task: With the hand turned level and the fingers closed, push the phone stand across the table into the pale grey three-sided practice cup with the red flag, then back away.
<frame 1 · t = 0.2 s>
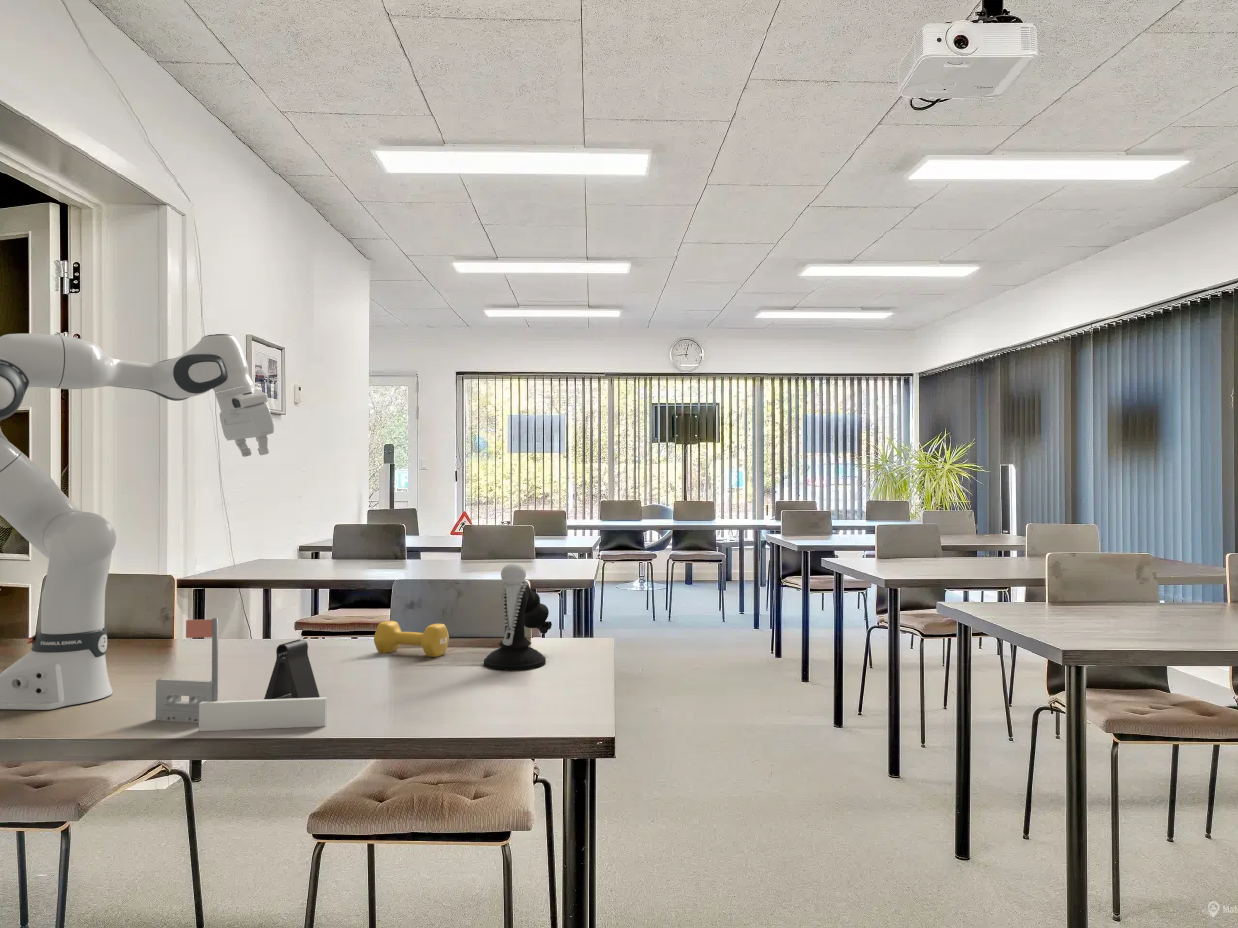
hand: (255, 455, 197), 52 cm above the table, tool tilted 20°, fingers open, 8 cm apart
sculpture: (523, 660, 204), on the table
practice cup: (274, 717, 154), on the table
phone stand: (291, 701, 167), on the table
cassette: (184, 721, 153), on the table
dumbbell: (411, 654, 212), on the table
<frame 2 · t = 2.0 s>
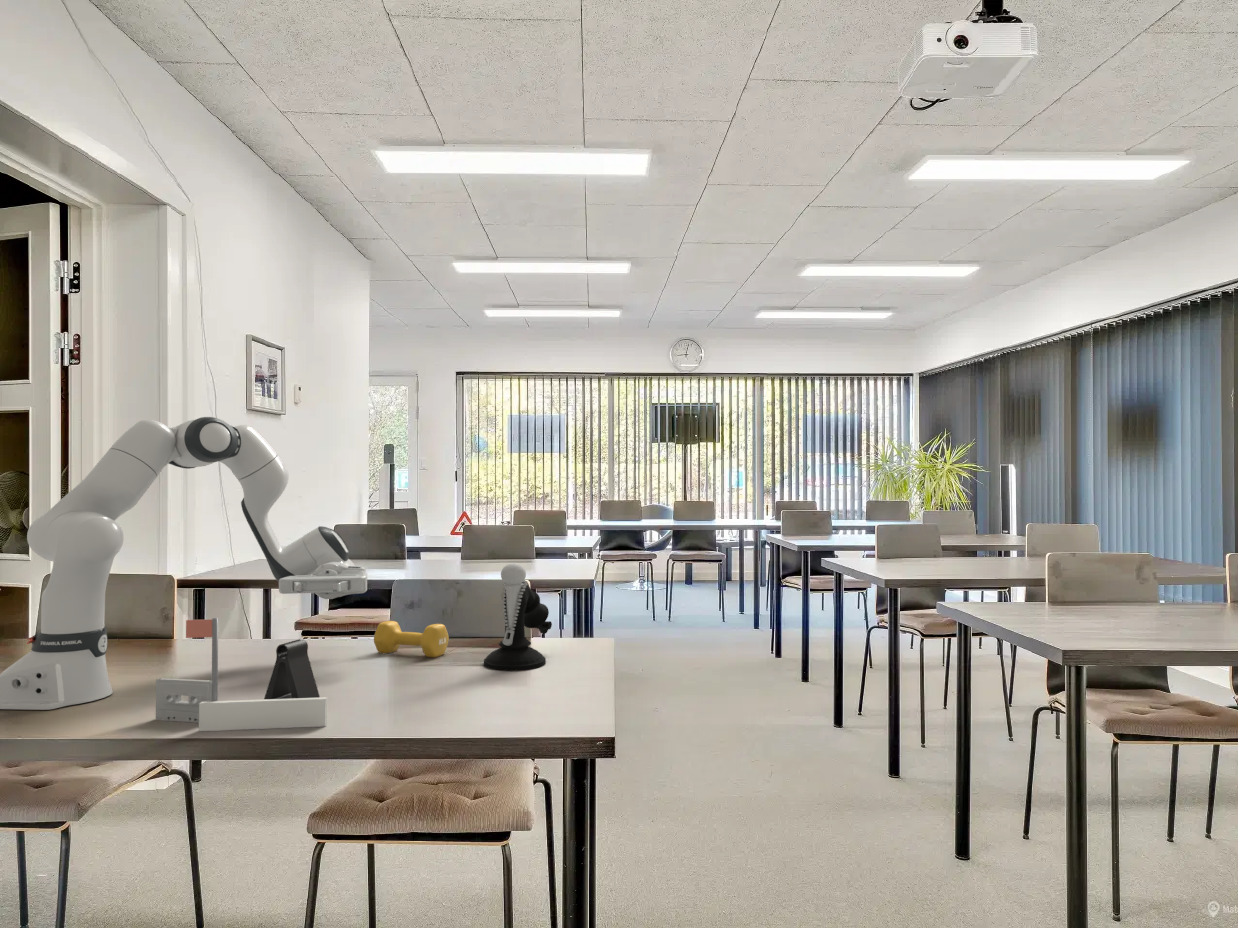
hand: (317, 588, 188), 20 cm above the table, tool horizontal, fingers open, 7 cm apart
nothing on the table moved.
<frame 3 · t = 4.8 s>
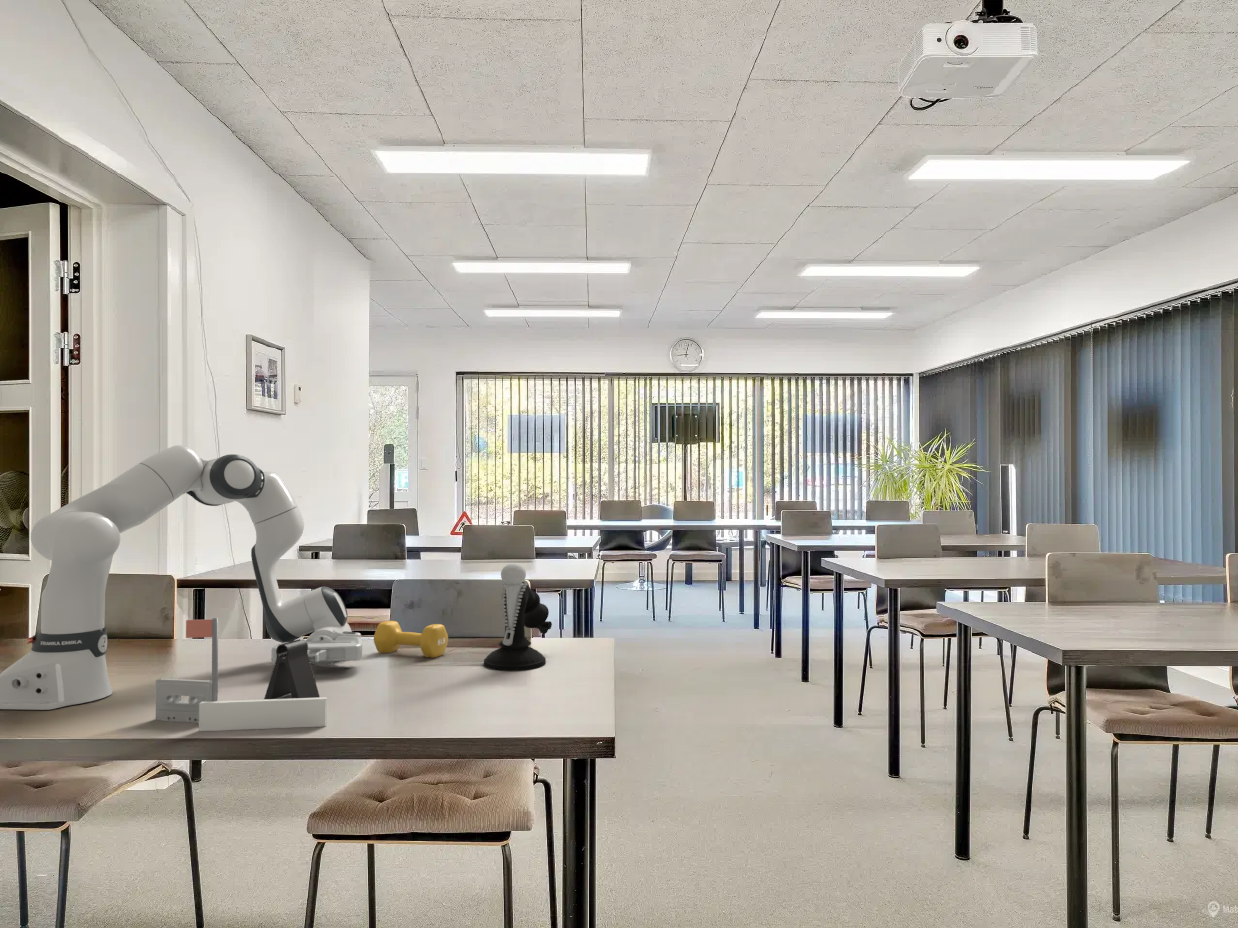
hand: (310, 658, 183), 5 cm above the table, tool horizontal, fingers closed
nothing on the table moved.
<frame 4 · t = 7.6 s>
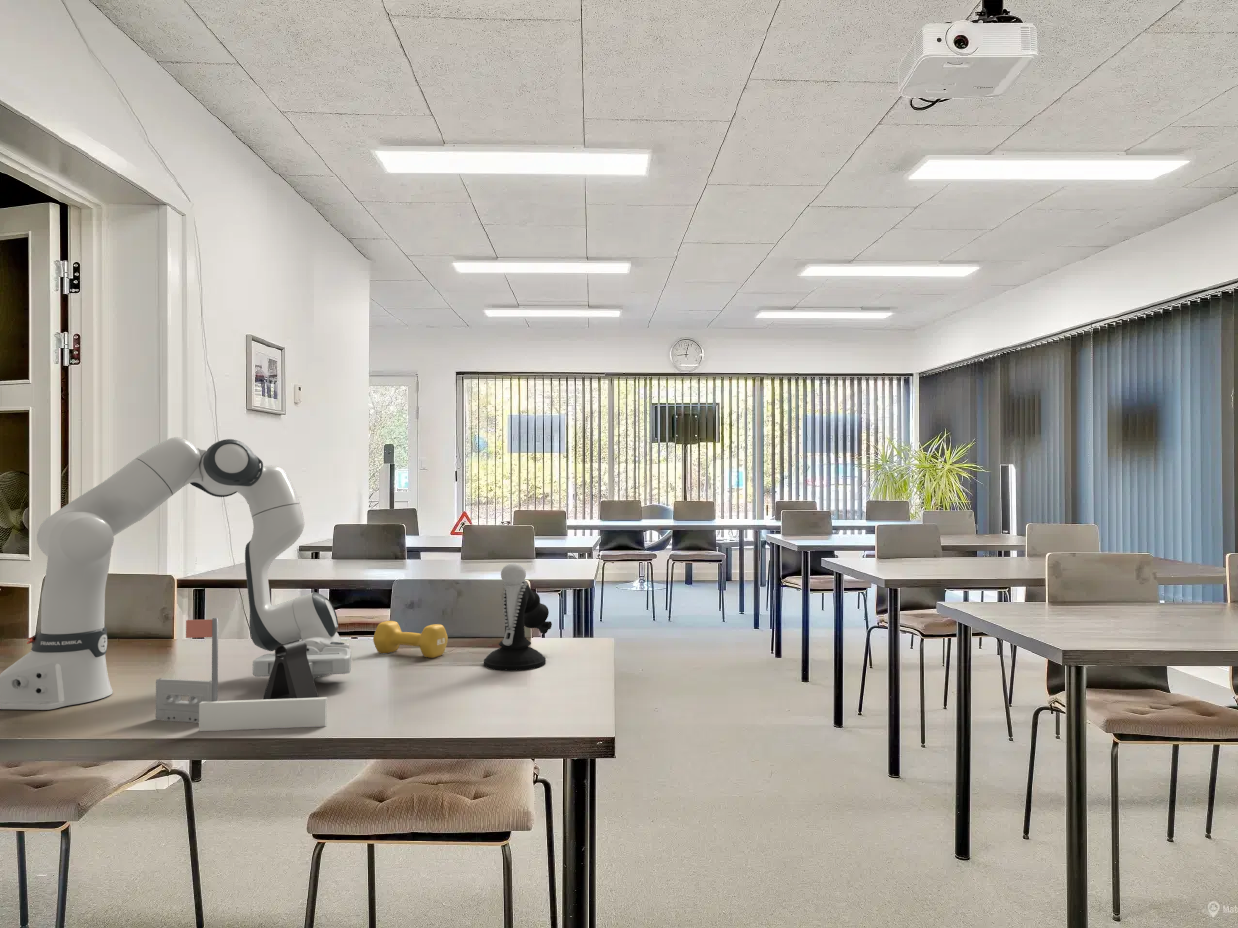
hand: (294, 672, 169), 5 cm above the table, tool horizontal, fingers closed
phone stand: (290, 702, 166), on the table, touching gripper
everything else where it was.
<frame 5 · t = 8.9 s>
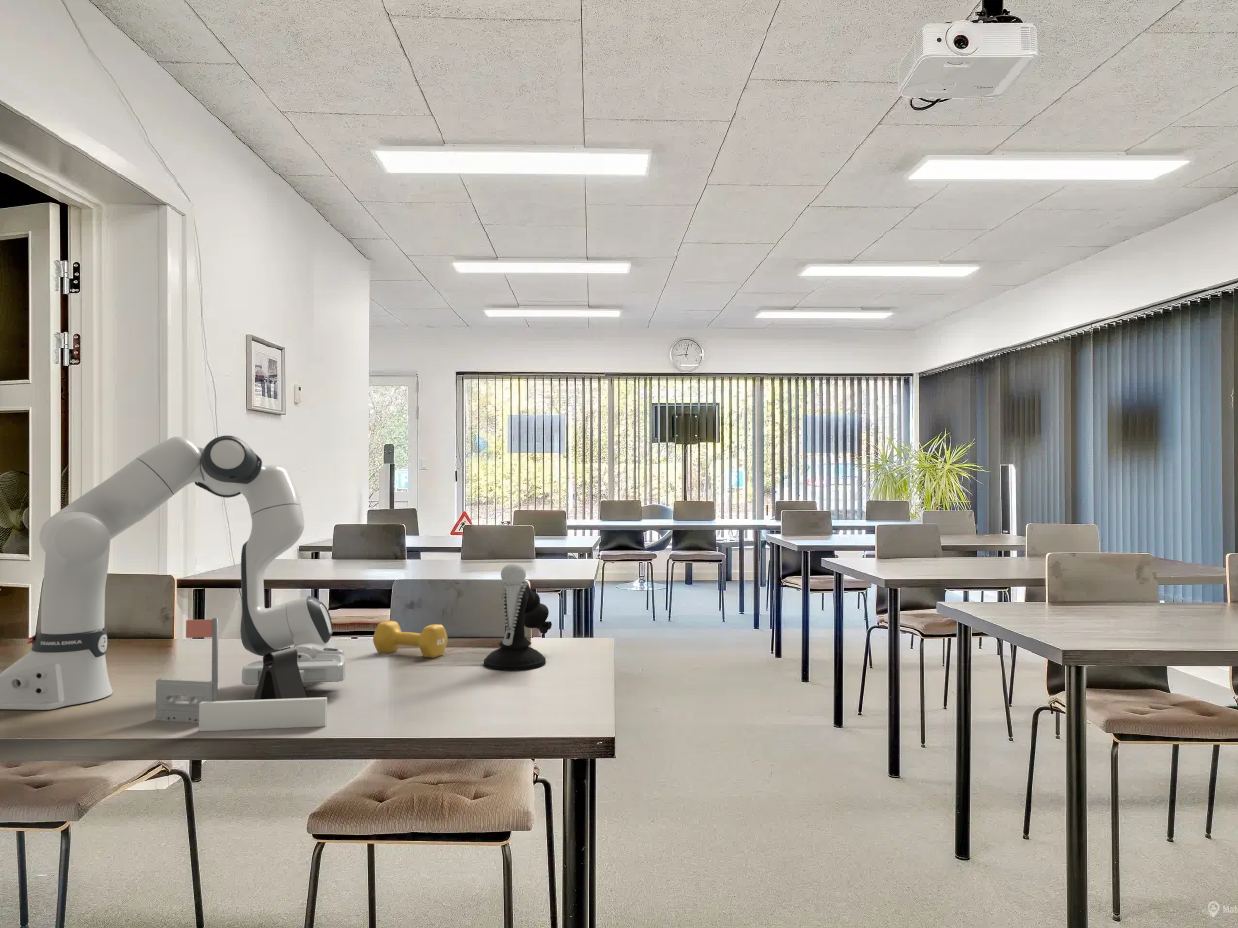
hand: (285, 680, 162), 5 cm above the table, tool horizontal, fingers closed
phone stand: (280, 711, 159), on the table, touching gripper, practice cup
everything else where it was.
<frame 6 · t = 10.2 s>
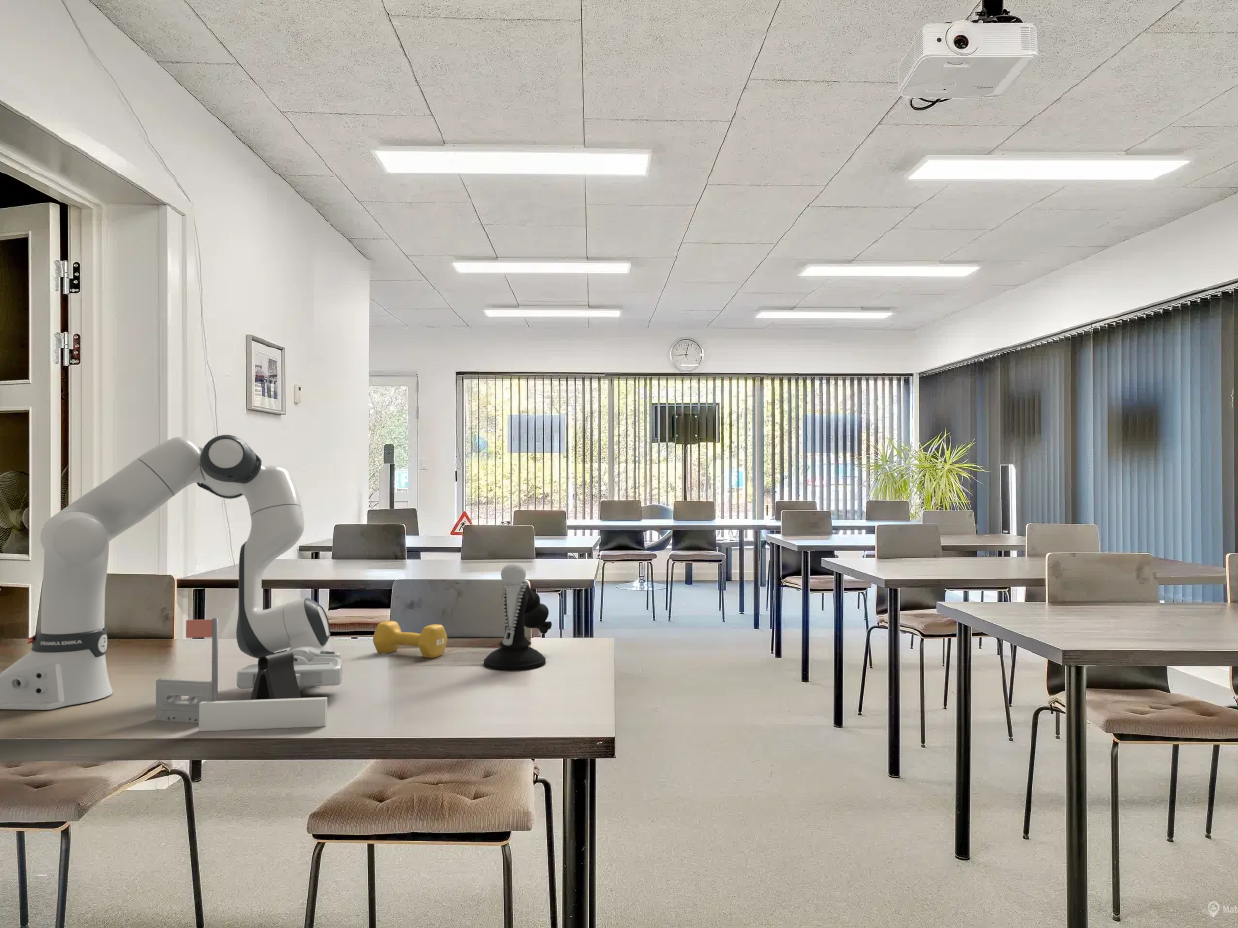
hand: (281, 684, 159), 5 cm above the table, tool horizontal, fingers closed
phone stand: (275, 716, 156), on the table, touching gripper, practice cup
everything else where it was.
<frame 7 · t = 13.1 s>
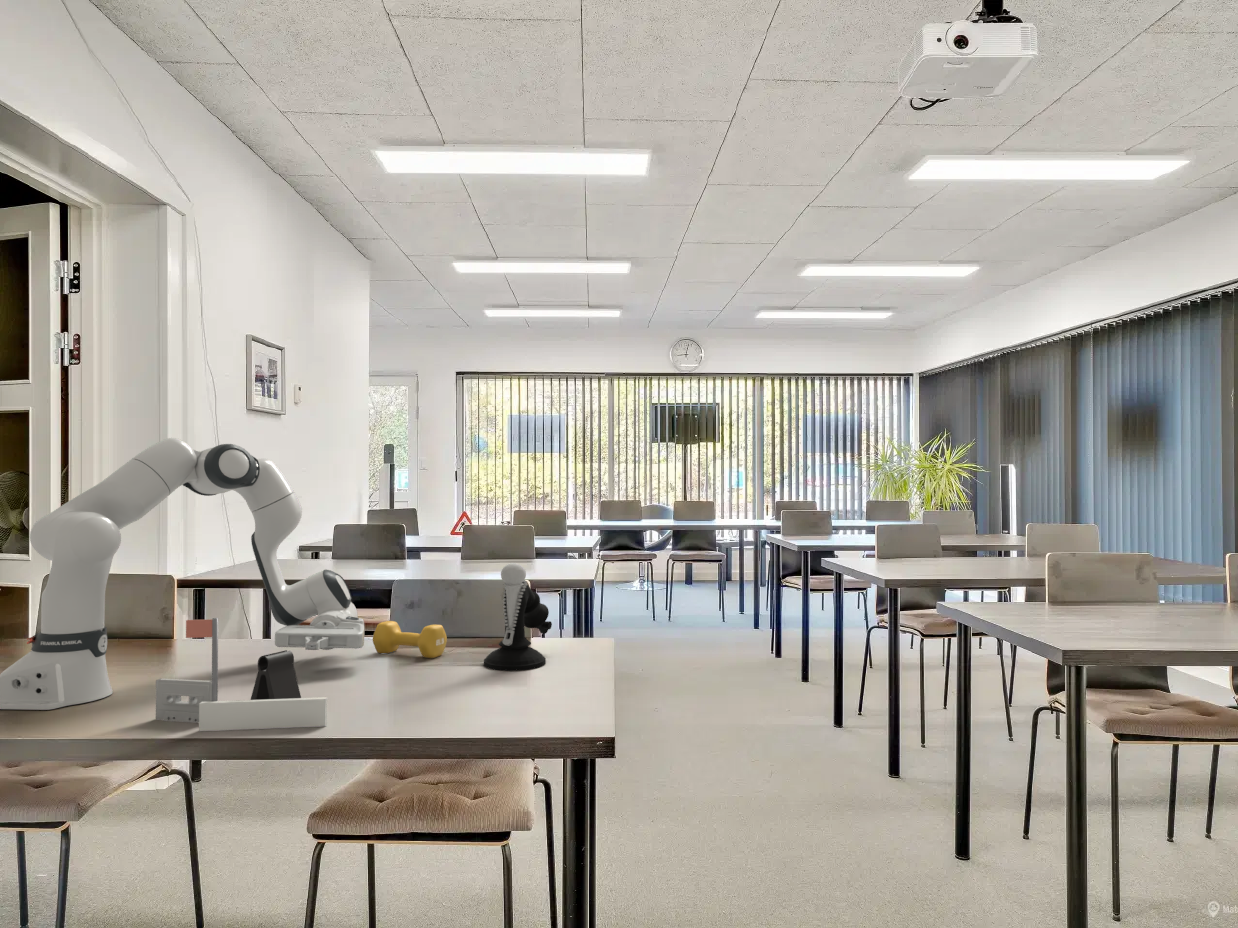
hand: (311, 646, 185), 7 cm above the table, tool horizontal, fingers closed
phone stand: (275, 716, 156), on the table
everything else where it was.
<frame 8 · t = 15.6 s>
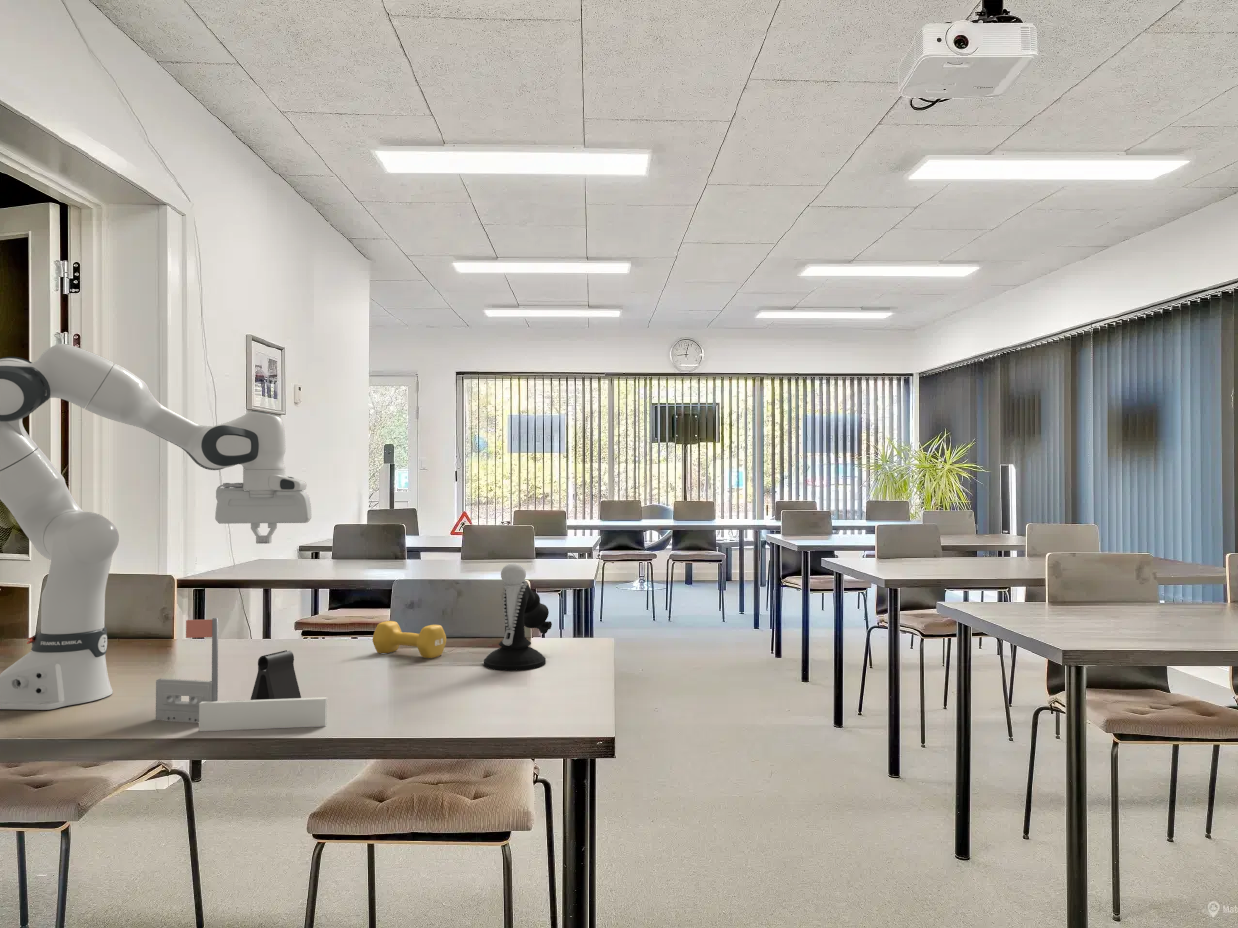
hand: (263, 543, 184), 31 cm above the table, tool pointing down, fingers closed
nothing on the table moved.
at the end: phone stand inside the target area on the practice cup (2.6 cm from its centre), point 0.0 cm above the practice cup's base; phone stand tilted 0° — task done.
